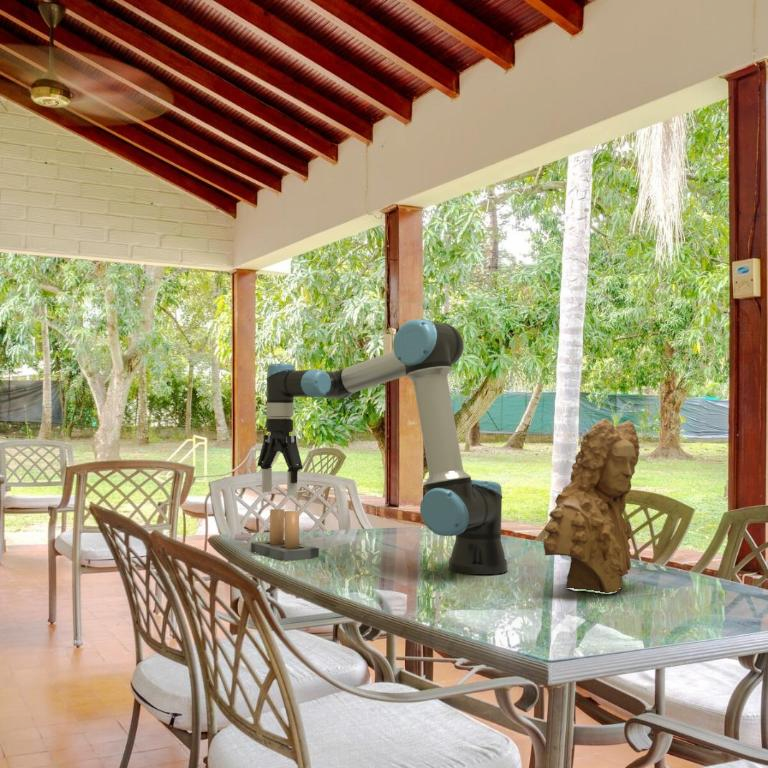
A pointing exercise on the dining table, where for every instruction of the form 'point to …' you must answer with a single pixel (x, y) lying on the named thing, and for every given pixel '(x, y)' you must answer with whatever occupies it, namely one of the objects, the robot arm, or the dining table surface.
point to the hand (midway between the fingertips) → (279, 493)
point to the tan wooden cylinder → (291, 530)
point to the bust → (596, 509)
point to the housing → (285, 551)
